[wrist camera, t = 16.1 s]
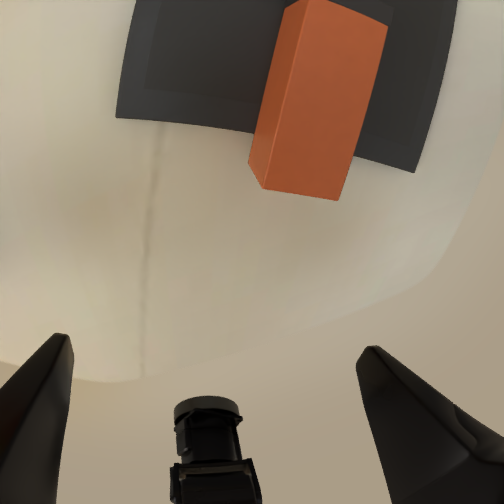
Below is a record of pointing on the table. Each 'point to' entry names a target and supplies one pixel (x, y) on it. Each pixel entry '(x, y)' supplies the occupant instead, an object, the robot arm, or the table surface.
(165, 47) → the dark grey flat panel
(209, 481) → the robot arm
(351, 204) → the table surface
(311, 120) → the orange box
